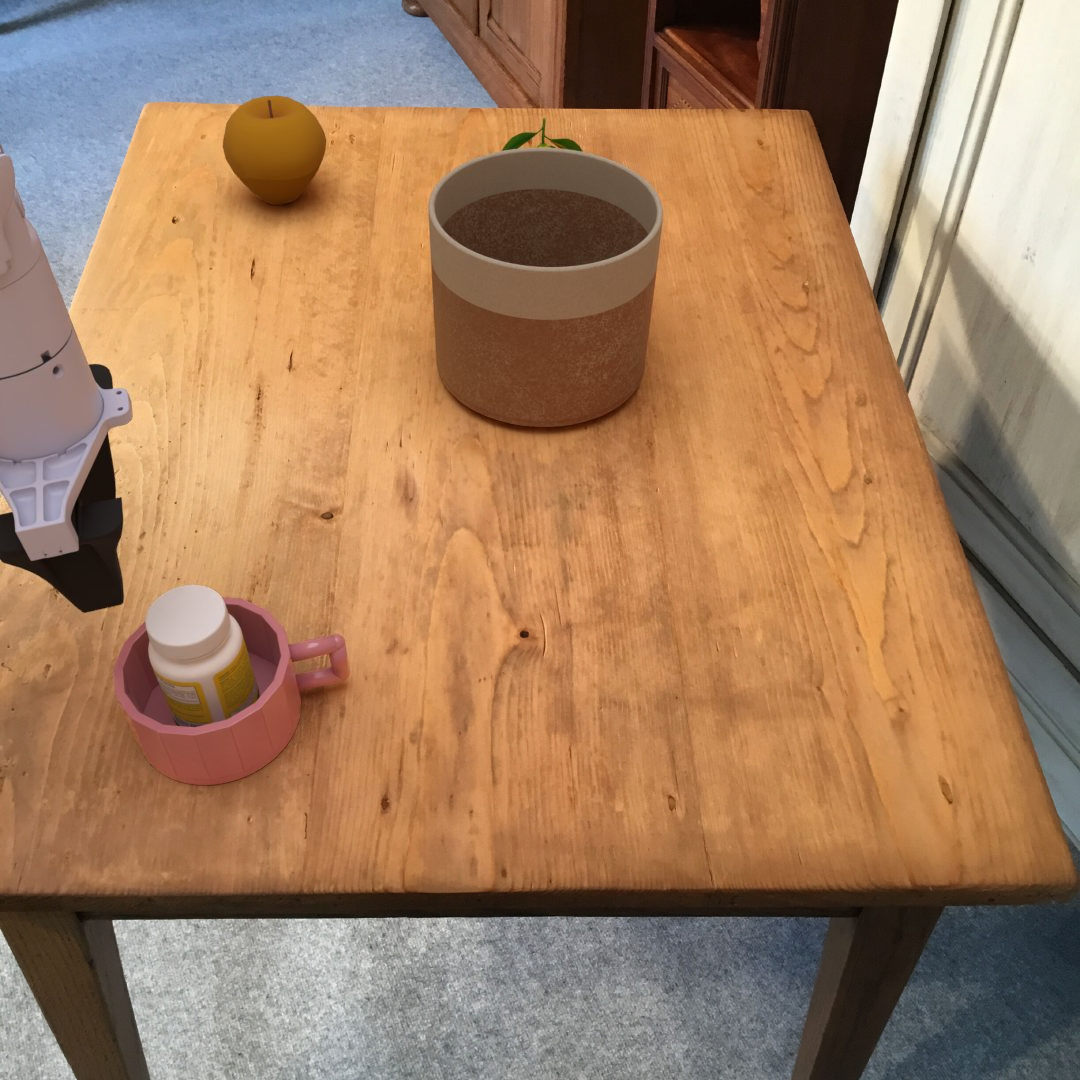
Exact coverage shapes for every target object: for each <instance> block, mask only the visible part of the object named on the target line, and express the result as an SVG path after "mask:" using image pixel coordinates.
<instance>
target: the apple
mask: <svg viewBox="0 0 1080 1080" xmlns="http://www.w3.org/2000/svg"><path fill="white" fill-rule="evenodd" d="M326 149H327V137H326V133H325V131H324V129H323V127H322V124H321V123H320V122H319V120H318V118H317V116H316V115H315V114H314V113H313V112H312V111H311V110H310V109H308V107H306V105H305V104H304V103H302V102H299V101H298V100H295V99H293V98H291V97H289V96H283V95H265V96H260V97H255V98H252V99H250V100H248V101H246V102H244V103H243V104H241V105H239V106H238V107H237V108H236V110H234V111H233V113H231V115H230V116H229V118H228V119H227V121H226V123H225V129H224V133H223V139H222V150H223V154H224V158H225V160H226V162H227V164H228V165H229V167H230V169H231V171H232V172H233V174H234V175H235V176H236V177H237V178H238V180H240V182H241V183H242V184H243V185H244V187H246V188H247V189H248V190H249V191H250V192H251V193H252V194H254V195H255V196H256V197H257V198H258V199H260V200H261V201H262V202H265V203H268V204H270V205H274V206H282V205H285V204H288V203H291V202H294V201H295V200H297V199H298V198H299V197H300V196H301V195H302V194H303V193H304V192H305V190H307V188H308V187H309V185H310V184H311V182H312V181H313V179H314V177H315V176H316V174H317V173H318V171H319V169H320V166H321V164H322V162H323V160H324V158H325V153H326Z"/></svg>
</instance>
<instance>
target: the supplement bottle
mask: <svg viewBox="0 0 1080 1080" xmlns="http://www.w3.org/2000/svg"><path fill="white" fill-rule="evenodd" d="M222 597H223V596H221V595H220V594H219V593H218V592H217V591H216V590H214V589H212V588H211V587H208V586H206V585H200V584H185V585H180V586H177V587H173V588H171V589H169V590H167V591H165V592H164V593H162V594H160V595H159V596H158V597H157V598H155V600H153V602H152V603H151V604H150V605H149V607H148V609H147V611H146V614H145V618H144V622H145V626H146V630H147V633H148V636H149V640H150V642H149V647H148V653H149V659H150V662H151V665H152V668H153V670H154V673H155V675H156V677H157V680H158V682H159V685H160V687H161V690H162V692H163V694H164V697H165V699H166V701H167V704H168V706H169V709H170V711H171V713H172V716H173V718H174V721H175V723H176V725H177V726H185V727H198V726H202V725H206V724H211V723H215V722H219V721H223V720H227V719H229V718H231V717H232V716H234V715H236V714H237V713H239V712H241V711H242V710H244V709H246V708H247V707H249V706H251V705H252V704H254V703H255V702H256V701H257V700H258V699H259V697H260V693H259V688H258V685H257V682H256V678H255V675H254V671H253V668H252V665H251V661H250V658H249V655H248V651H247V648H246V644H245V641H244V637H243V634H242V631H241V628H240V626H239V624H238V623H237V621H236V620H235V619H234V618H233V616H231V615H230V614H229V613H228V610H227V608H226V605H225V602H224V600H223V598H222Z"/></svg>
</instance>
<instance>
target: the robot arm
mask: <svg viewBox="0 0 1080 1080" xmlns="http://www.w3.org/2000/svg"><path fill="white" fill-rule="evenodd" d="M69 313H70V312H69V310H68V308H67V306H66V303H65V300H64V298H63V296H62V293H61V290H60V288H59V285H58V283H57V280H56V278H55V274H54V273H53V270H52V268H51V264H50V262H49V259H48V258H47V255H46V252H45V250H44V247H43V244H42V242H41V240H40V237H39V235H38V232H37V230H36V228H35V227H34V225H33V224H32V222H31V221H30V220H29V219H28V218H27V217H26V209H25V206H24V204H23V201H22V198H21V195H20V193H19V191H18V189H17V187H16V175H15V169H14V163H13V161H12V157H11V156H10V155H8V154H7V153H5V151H4V149H3V146H2V143H1V141H0V494H1V495H2V496H3V499H4V500H5V502H6V503H7V505H8V507H9V509H10V510H11V511H10V512H5V513H1V514H0V561H1V562H2V563H3V564H6V565H9V566H12V567H16V568H19V569H22V570H24V571H27V572H30V573H32V574H34V575H36V576H38V577H39V578H41V579H42V580H44V581H45V582H47V583H48V584H49V585H50V586H51V587H53V588H54V589H55V590H56V591H58V593H59V594H61V596H63V597H64V598H65V599H66V600H67V601H68V602H70V604H72V605H73V606H74V607H75V608H77V609H78V611H80V612H81V613H83V614H86V613H87V614H88V613H91V612H95V611H100V610H105V609H108V608H113V607H117V606H121V605H123V604H124V601H125V600H124V599H125V592H124V581H123V579H124V578H123V572H122V568H121V564H120V560H119V555H118V546H119V543H120V541H121V538H122V534H123V528H124V527H123V526H124V509H123V497H122V496H121V497H117V484H116V474H115V473H116V472H115V467H114V461H113V460H114V459H113V456H112V449H111V444H110V438H109V431H110V430H111V429H113V428H117V427H121V426H125V425H128V424H129V423H130V422H131V421H132V420H133V417H134V415H133V404H132V400H131V397H130V394H129V391H128V390H127V389H126V388H123V387H114V382H113V375H112V373H111V370H110V369H109V367H108V366H106V365H105V364H101V363H90V364H89V362H88V360H87V357H86V355H85V352H84V349H83V347H82V345H81V342H80V339H79V336H78V334H77V332H76V329H75V326H74V324H73V321H72V319H71V316H70V314H69Z"/></svg>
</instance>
